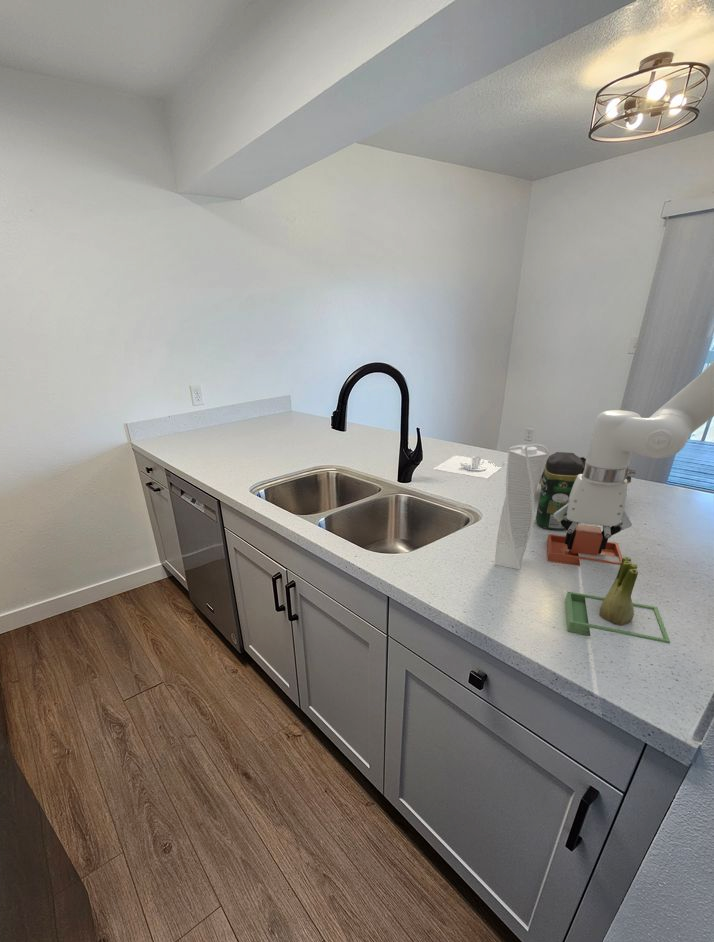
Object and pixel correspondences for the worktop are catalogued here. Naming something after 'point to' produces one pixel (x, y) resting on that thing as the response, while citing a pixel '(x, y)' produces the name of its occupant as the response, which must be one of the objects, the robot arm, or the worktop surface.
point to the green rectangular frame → (579, 624)
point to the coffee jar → (557, 487)
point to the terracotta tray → (561, 554)
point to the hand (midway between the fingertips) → (583, 548)
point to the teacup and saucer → (468, 466)
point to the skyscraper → (519, 503)
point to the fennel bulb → (620, 595)
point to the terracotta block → (587, 540)
